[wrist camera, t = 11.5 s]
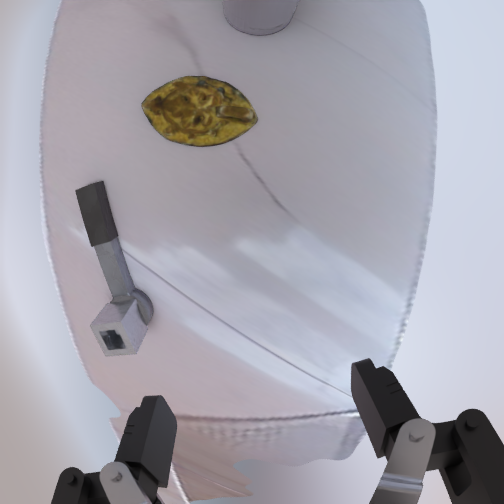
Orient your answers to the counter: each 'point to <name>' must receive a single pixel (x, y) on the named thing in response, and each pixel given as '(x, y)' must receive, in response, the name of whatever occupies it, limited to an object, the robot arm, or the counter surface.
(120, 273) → the ratchet
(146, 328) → the hollow square tube
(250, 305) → the counter surface
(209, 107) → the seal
